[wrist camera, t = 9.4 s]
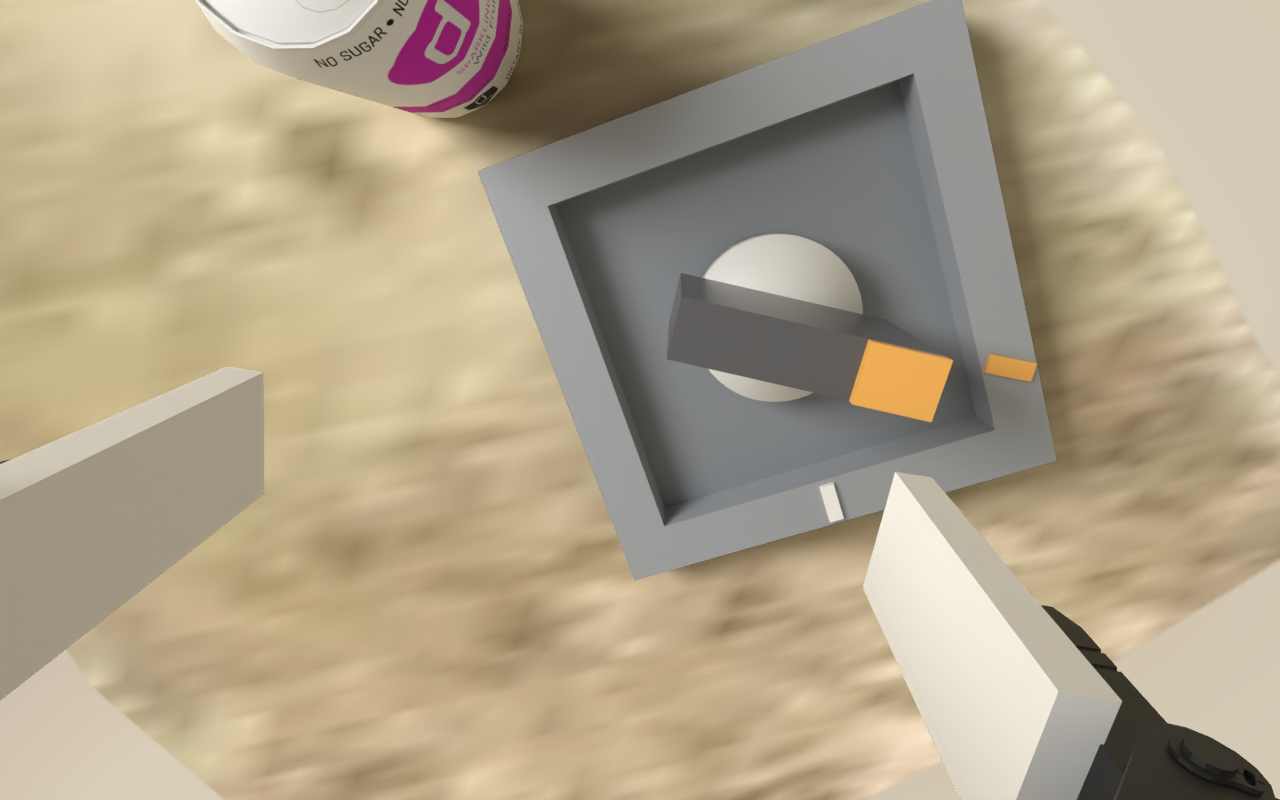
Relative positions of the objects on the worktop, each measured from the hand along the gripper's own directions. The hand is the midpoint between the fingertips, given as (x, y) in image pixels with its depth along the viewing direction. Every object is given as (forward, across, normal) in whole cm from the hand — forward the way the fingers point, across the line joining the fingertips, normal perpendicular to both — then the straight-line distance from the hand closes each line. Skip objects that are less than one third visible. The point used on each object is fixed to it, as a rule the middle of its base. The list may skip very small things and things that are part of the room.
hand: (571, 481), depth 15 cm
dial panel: (+24, +7, 0) cm, 25 cm away
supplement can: (+25, -11, +11) cm, 29 cm away
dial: (+22, +7, 0) cm, 24 cm away
